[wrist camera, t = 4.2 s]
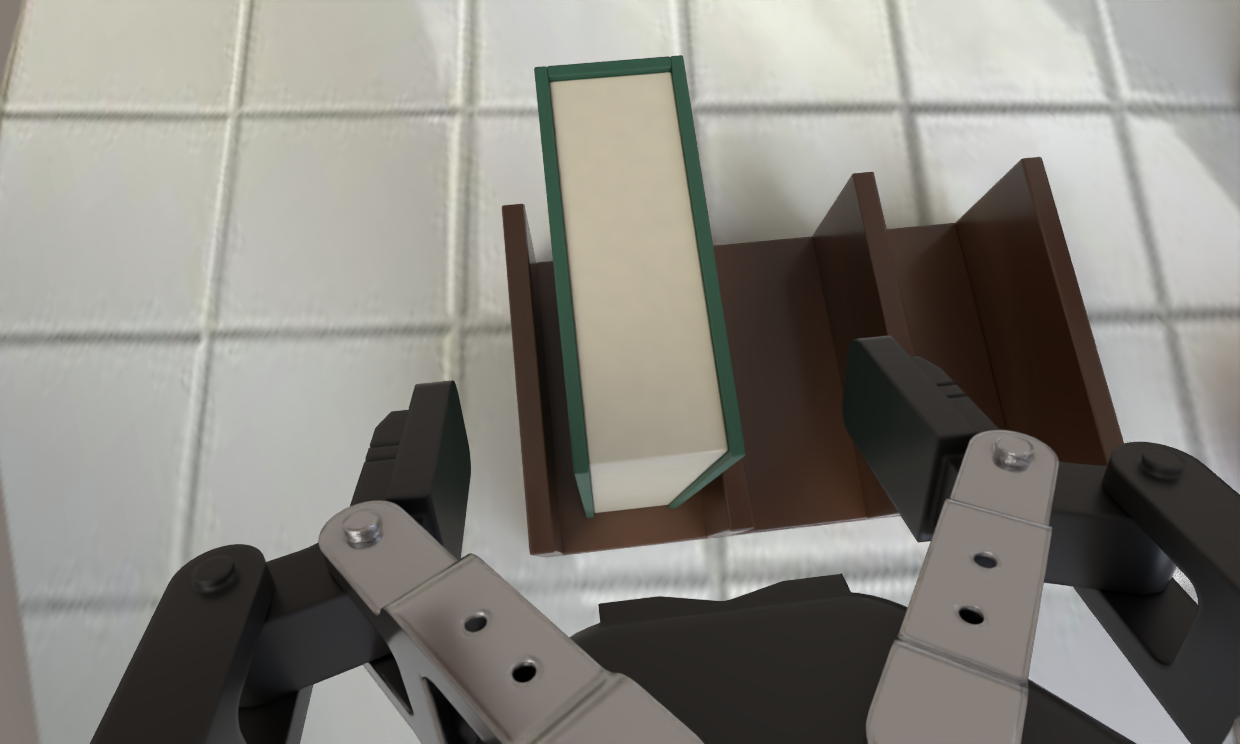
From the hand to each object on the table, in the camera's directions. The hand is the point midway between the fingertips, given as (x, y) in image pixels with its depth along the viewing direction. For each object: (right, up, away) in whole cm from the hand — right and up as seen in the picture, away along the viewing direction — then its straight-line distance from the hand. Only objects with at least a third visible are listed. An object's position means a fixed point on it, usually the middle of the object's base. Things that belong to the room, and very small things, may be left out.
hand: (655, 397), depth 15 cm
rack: (+5, 0, +16) cm, 17 cm away
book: (-1, 0, +15) cm, 15 cm away
